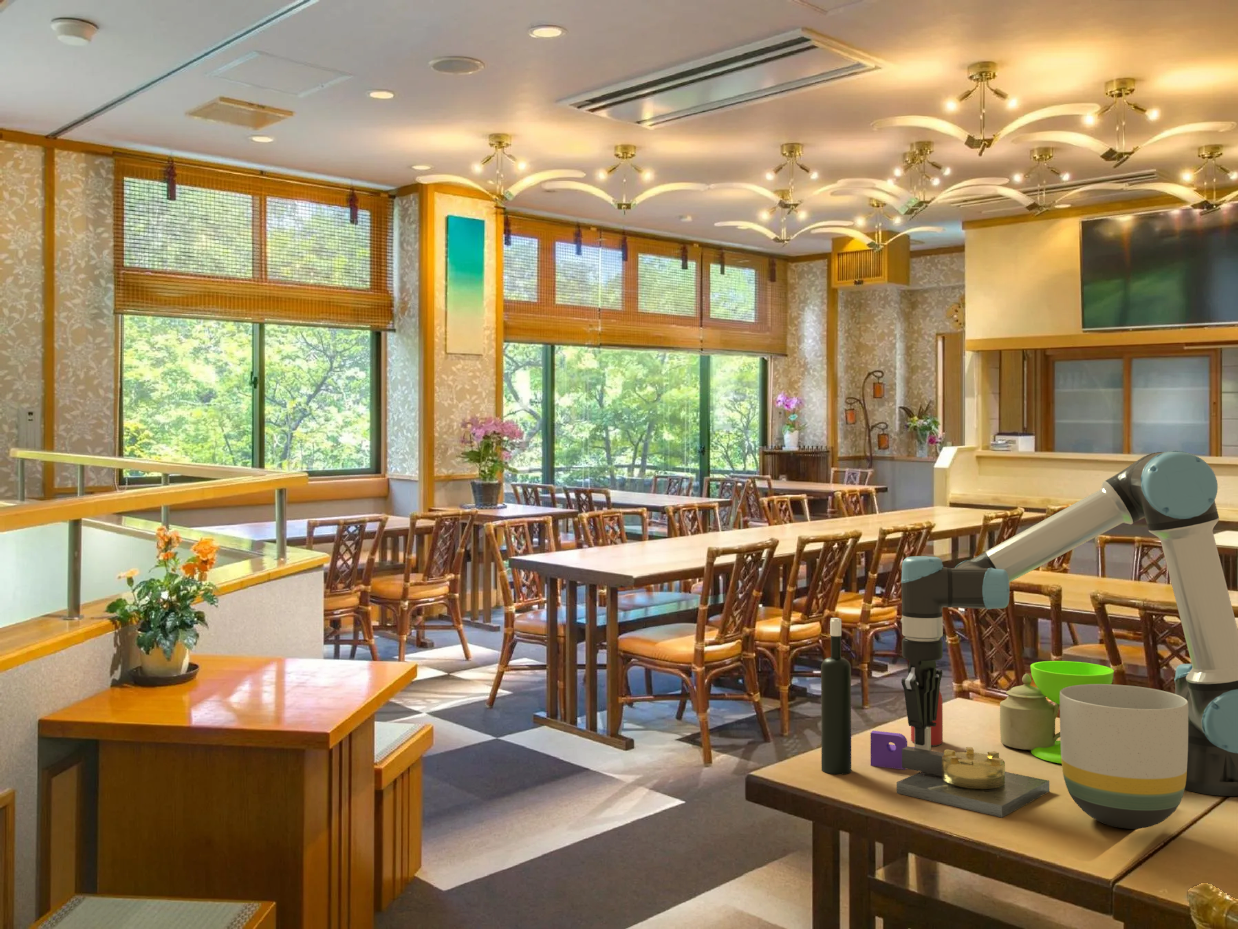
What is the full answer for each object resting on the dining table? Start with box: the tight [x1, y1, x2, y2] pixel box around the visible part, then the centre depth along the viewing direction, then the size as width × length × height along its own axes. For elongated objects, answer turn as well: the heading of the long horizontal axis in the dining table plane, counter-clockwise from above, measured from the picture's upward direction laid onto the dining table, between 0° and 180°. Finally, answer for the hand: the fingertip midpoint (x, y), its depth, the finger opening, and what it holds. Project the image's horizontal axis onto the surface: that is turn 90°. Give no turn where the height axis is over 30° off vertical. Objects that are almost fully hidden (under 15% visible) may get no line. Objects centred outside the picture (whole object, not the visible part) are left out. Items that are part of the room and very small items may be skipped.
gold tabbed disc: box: [902, 745, 1006, 789], centre depth 200 cm, size 19×11×5 cm, turn 49°
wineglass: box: [1029, 660, 1115, 765], centre depth 223 cm, size 16×16×18 cm
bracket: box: [870, 730, 915, 771], centre depth 220 cm, size 12×7×7 cm, turn 154°
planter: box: [1059, 683, 1188, 830], centre depth 180 cm, size 20×20×21 cm
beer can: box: [910, 688, 944, 747], centre depth 232 cm, size 7×7×12 cm
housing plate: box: [896, 771, 1050, 818], centre depth 198 cm, size 20×20×2 cm
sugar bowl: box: [999, 673, 1060, 751], centre depth 230 cm, size 15×11×15 cm
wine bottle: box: [820, 617, 852, 775], centre depth 212 cm, size 6×6×30 cm
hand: (922, 760), depth 206 cm, fingers closed
